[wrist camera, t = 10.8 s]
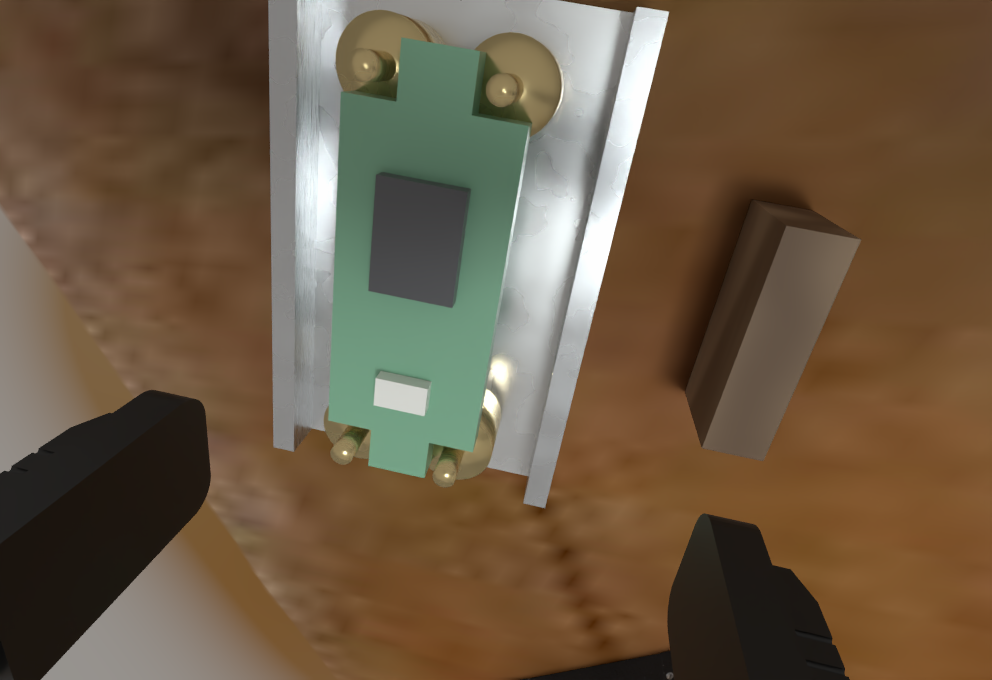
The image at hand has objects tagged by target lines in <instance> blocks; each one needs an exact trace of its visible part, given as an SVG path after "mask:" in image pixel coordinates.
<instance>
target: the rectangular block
mask: <svg viewBox="0 0 992 680" xmlns="http://www.w3.org/2000/svg"><path fill="white" fill-rule="evenodd" d="M860 241H861V239H859V238H857V237H856V236H854V235H852V234H851V233H849V232H847V231H846V230H844V229H842V228H841V227H839V226H838V225H836V224H834V223H833V222H831V221H829V220H828V219H826V218H824V217H823V216H821V215H819V214H818V213H816V212H814V211H812V210H807V209H801V208H796V207H790V206H785V205H780V204H774V203H769V202H763V201H758V200H753V199H752V200H751V203H750V206H749V209H748V212H747V215H746V218H745V221H744V223H743V226H742V229H741V232H740V235H739V238H738V241H737V244H736V246H735V249H734V252H733V255H732V258H731V261H730V264H729V267H728V270H727V272H726V275H725V278H724V281H723V284H722V287H721V290H720V293H719V295H718V298H717V301H716V304H715V307H714V310H713V313H712V316H711V318H710V321H709V324H708V327H707V330H706V333H705V336H704V339H703V341H702V344H701V347H700V350H699V353H698V356H697V359H696V362H695V364H694V367H693V370H692V373H691V376H690V379H689V382H688V385H687V388H686V390H685V394H686V397H687V400H688V404H689V407H690V410H691V414H692V417H693V420H694V424H695V427H696V430H697V434H698V437H699V440H700V443H701V447H702V448H704V449H709V450H713V451H718V452H723V453H727V454H732V455H737V456H741V457H746V458H751V459H755V460H760V461H763V460H764V458H765V456H766V454H767V451H768V449H769V447H770V445H771V442H772V440H773V438H774V436H775V433H776V431H777V429H778V427H779V424H780V422H781V420H782V418H783V415H784V413H785V411H786V408H787V406H788V404H789V402H790V399H791V397H792V395H793V393H794V390H795V388H796V386H797V384H798V381H799V379H800V377H801V375H802V372H803V370H804V368H805V366H806V363H807V361H808V359H809V356H810V354H811V352H812V350H813V347H814V345H815V343H816V341H817V338H818V336H819V334H820V332H821V329H822V327H823V325H824V323H825V320H826V318H827V316H828V314H829V311H830V309H831V307H832V304H833V302H834V300H835V298H836V295H837V293H838V291H839V289H840V286H841V284H842V282H843V280H844V277H845V275H846V273H847V271H848V268H849V266H850V264H851V262H852V259H853V257H854V255H855V252H856V250H857V248H858V246H859V243H860Z"/></svg>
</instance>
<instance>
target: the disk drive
mask: <svg viewBox="0 0 992 680" xmlns="http://www.w3.org/2000/svg"><path fill="white" fill-rule="evenodd" d="M522 680H674V677H673V668H672V660H671V651H667V652H663V653H660V654H655V655H650V656H645V657H639V658H635V659H629V660H624V661H619V662H614V663H609V664H603V665H598V666H593V667H587V668H582V669H577V670H571V671H567V672H562V673H556V674H551V675H546V676H540V677H535V678H530V679H522Z"/></svg>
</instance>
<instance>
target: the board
mask: <svg viewBox="0 0 992 680" xmlns="http://www.w3.org/2000/svg"><path fill="white" fill-rule="evenodd" d="M485 60H486V52H482V51H477V50H471V49H465V48H460V47H454V46H448V45H442V44H437V43H431V42H425V41H420V40H414V39H408V38H402V37H401V48H400V61H399V74H398V87H397V98H392V97H386V96H381V95H375V94H370V93H364V92H359V91H344V92H341V99H340V125H339V151H338V178H337V204H336V230H335V257H334V283H333V309H332V336H331V362H330V388H329V415H328V421H333V422H337V423H342V424H346V425H351V426H355V427H360V428H365V429H369V430H371V438H370V451H369V464H368V466H373V467H377V468H382V469H386V470H390V471H395V472H399V473H404V474H408V475H413V476H417V477H422V478H425V475H426V473H427V470H428V468H429V465H430V463H431V460H432V453H433V445H434V444H437V445H442V446H446V447H451V448H455V449H460V450H464V451H469V452H473V450H474V447H475V444H476V440H477V437H478V432H479V427H480V421H481V415H482V410H483V404H484V398H485V392H486V387H487V381H488V375H489V369H490V364H491V358H492V352H493V346H494V341H495V335H496V329H497V323H498V318H499V312H500V306H501V300H502V295H503V289H504V283H505V277H506V272H507V266H508V260H509V254H510V249H511V243H512V237H513V231H514V226H515V220H516V214H517V209H518V203H519V197H520V191H521V186H522V180H523V174H524V168H525V163H526V157H527V151H528V145H529V140H530V134H531V128H532V123H529V122H524V121H518V120H513V119H507V118H502V117H496V116H491V115H485V114H480V113H478V112H479V104H480V97H481V90H482V82H483V75H484V67H485Z"/></svg>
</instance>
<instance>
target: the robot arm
mask: <svg viewBox="0 0 992 680" xmlns="http://www.w3.org/2000/svg"><path fill="white" fill-rule="evenodd" d="M210 479H211V473H210V461H209V450H208V438H207V426H206V415H205V409H204V406H203V404H202V403H201V402H200V401H199V400H197V399H192V398H188V397H183V396H179V395H174V394H170V393H165V392H161V391H156V390H149V391H146V392H144V393H142V394H140V395H139V396H137V397H136V398H134V399H133V400H131V401H130V402H129V403H127V404H126V405H124V406H123V407H121V408H120V409H118V410H117V411H115V412H114V413H108V414H105V415H102V416H100V417H97V418H95V419H92V420H90V421H87V422H84V423H81V424H79V425H76V426H74V427H71V428H69V429H68V430H66V431H65V432H63V433H62V434H60V435H59V436H57V437H56V438H54V439H53V440H51V441H50V442H48V443H46V444H45V445H43V446H42V447H40V448H39V450H38V452H37V453H36V454H35V453H31V454H30V455H28V456H26V457H25V458H23V459H22V460H20V461H19V462H18V463H16V464H14V465H13V466H12V468H11V470H10V471H9V472H7V471H3V472H2V473H0V680H41V679H42V677H43V676H44V675H45V674H46V673H47V672H48V671H49V670H50V669H51V668H52V667H53V666H54V665H55V664H56V662H57V661H58V660H59V659H60V658H61V657H62V656H63V655H64V654H65V653H66V652H67V651H68V650H69V649H70V647H72V645H73V644H74V643H75V642H76V641H77V640H78V639H79V638H80V637H81V636H82V635H83V634H84V632H86V630H87V629H88V628H89V627H90V626H91V625H92V624H93V623H94V622H95V621H96V620H97V619H98V618H99V617H100V616H101V614H102V613H103V612H104V611H105V610H106V609H107V608H108V607H109V606H110V605H111V604H112V603H113V602H114V600H116V599H117V597H118V596H119V595H120V594H121V593H122V592H123V591H124V590H125V589H126V588H127V587H128V586H129V585H130V584H131V582H132V581H133V580H134V579H135V578H136V577H137V576H138V575H139V574H140V573H141V572H142V570H144V569H145V568H146V566H147V565H148V564H149V563H150V562H151V561H152V560H153V559H154V558H155V557H156V556H157V555H158V554H159V553H160V552H161V551H162V549H163V548H164V547H165V546H166V545H167V544H168V543H169V542H170V541H171V540H172V539H173V538H174V537H175V535H176V534H177V533H178V532H179V531H180V530H181V529H182V528H183V527H184V526H185V525H186V524H187V523H188V522H189V521H190V520H191V518H192V517H193V516H194V515H195V514H196V513H197V512H198V510H199V509H200V507H201V505H202V504H203V502H204V500H205V498H206V496H207V493H208V490H209V486H210ZM668 635H669V643H670V651H671V660H672V668H673V677H674V680H849V677H846V676H845V674H844V671H845V667H844V665H843V663H842V660H841V658H840V655H839V653H838V650H837V648H836V646H835V645H832V636H831V633H830V631H829V629H828V626H827V624H826V621H825V619H824V616H823V614H822V612H821V609H820V607H819V604H818V602H817V601H816V600H815V599H814V597H813V596H812V595H811V594H810V592H809V591H808V590H807V589H806V588H805V586H804V585H803V584H802V583H801V582H800V580H799V579H798V578H797V577H796V575H795V574H794V573H793V572H792V571H791V569H787V568H782V567H778V566H773V565H772V563H771V560H770V557H769V555H768V552H767V549H766V546H765V543H764V540H763V537H762V535H761V532H760V530H759V528H758V527H757V526H756V525H754V524H750V523H745V522H741V521H736V520H732V519H727V518H723V517H718V516H714V515H709V514H702V515H701V516H700V517H699V518H698V520H697V522H696V524H695V527H694V530H693V532H692V535H691V538H690V540H689V543H688V546H687V548H686V551H685V553H684V556H683V559H682V561H681V564H680V567H679V569H678V572H677V575H676V577H675V580H674V583H673V586H672V589H671V593H670V598H669V605H668Z"/></svg>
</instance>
